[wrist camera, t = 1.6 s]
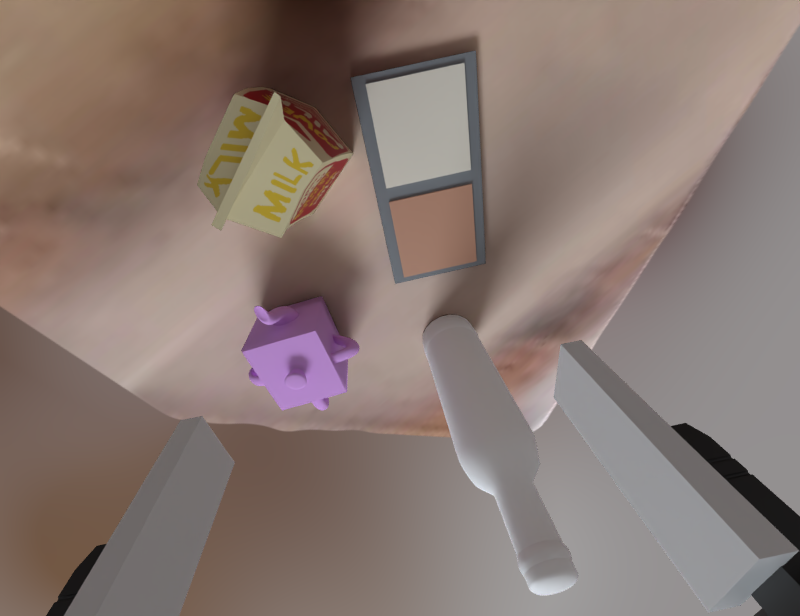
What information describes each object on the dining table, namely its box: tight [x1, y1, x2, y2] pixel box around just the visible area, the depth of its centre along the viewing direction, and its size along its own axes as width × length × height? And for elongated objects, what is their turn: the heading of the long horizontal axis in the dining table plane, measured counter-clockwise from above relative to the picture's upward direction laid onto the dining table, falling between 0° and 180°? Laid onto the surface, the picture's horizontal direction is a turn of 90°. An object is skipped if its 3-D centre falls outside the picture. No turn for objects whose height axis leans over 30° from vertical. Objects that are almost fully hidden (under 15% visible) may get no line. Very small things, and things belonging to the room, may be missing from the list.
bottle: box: [423, 315, 578, 595], centre depth 35 cm, size 8×8×30 cm
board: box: [351, 51, 486, 284], centre depth 36 cm, size 22×12×1 cm, turn 10°
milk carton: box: [197, 87, 353, 238], centre depth 25 cm, size 9×9×20 cm
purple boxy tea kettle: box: [241, 296, 359, 410], centre depth 40 cm, size 18×14×10 cm
